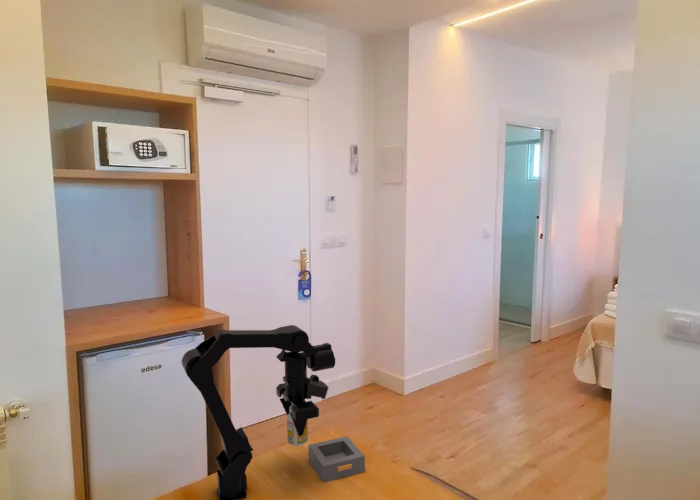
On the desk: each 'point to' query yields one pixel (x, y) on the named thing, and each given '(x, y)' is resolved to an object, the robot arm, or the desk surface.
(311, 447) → the socket block
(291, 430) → the supplement bottle
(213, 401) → the robot arm
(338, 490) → the desk surface
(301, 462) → the desk surface
